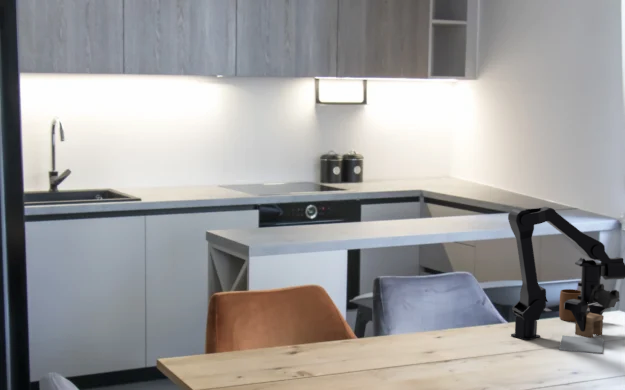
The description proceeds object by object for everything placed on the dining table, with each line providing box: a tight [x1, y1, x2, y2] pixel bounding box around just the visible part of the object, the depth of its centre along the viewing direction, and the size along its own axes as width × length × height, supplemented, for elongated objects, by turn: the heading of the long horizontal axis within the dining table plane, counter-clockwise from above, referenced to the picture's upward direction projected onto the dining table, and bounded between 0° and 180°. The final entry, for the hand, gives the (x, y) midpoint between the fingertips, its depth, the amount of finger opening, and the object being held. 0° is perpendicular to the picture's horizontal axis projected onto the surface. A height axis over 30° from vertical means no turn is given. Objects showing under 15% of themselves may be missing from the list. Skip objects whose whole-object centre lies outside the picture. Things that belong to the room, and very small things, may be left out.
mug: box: [558, 288, 589, 323], centre depth 305 cm, size 12×8×9 cm, turn 83°
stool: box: [574, 313, 605, 338], centre depth 286 cm, size 6×6×6 cm
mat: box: [558, 334, 605, 355], centre depth 274 cm, size 16×12×1 cm
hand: (588, 329), depth 286 cm, fingers open, 6 cm apart
